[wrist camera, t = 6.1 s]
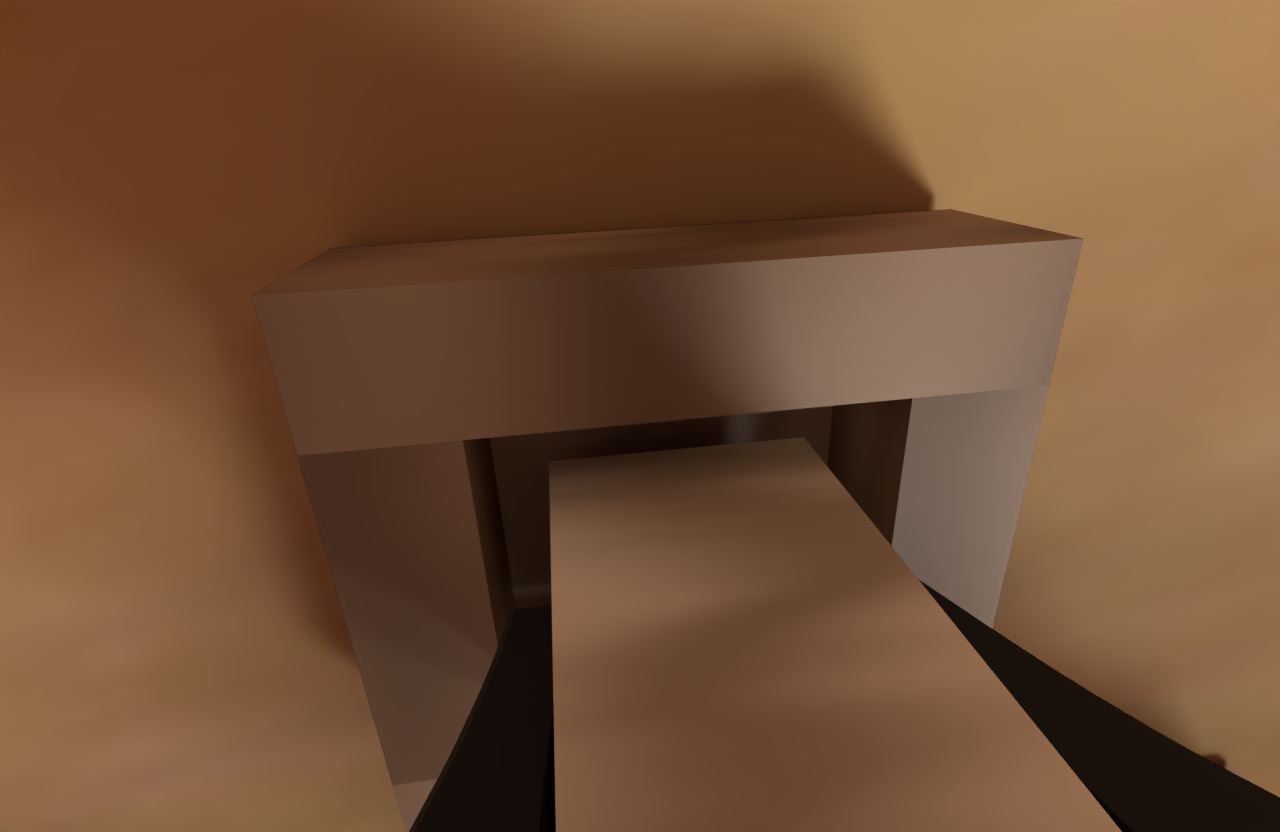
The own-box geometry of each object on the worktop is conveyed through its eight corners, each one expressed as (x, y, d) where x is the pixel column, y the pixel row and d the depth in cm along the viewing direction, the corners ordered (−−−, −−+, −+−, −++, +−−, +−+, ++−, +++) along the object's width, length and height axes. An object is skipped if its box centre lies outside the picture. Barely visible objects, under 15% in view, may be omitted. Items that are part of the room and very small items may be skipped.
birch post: (803, 436, 10) (1205, 934, 4) (788, 631, 12) (1056, 1196, 6) (548, 460, 10) (561, 1054, 4) (570, 659, 12) (601, 1301, 5)
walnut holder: (950, 209, 11) (1084, 238, 8) (883, 660, 15) (957, 778, 12) (330, 248, 10) (251, 295, 7) (440, 720, 14) (415, 863, 11)
